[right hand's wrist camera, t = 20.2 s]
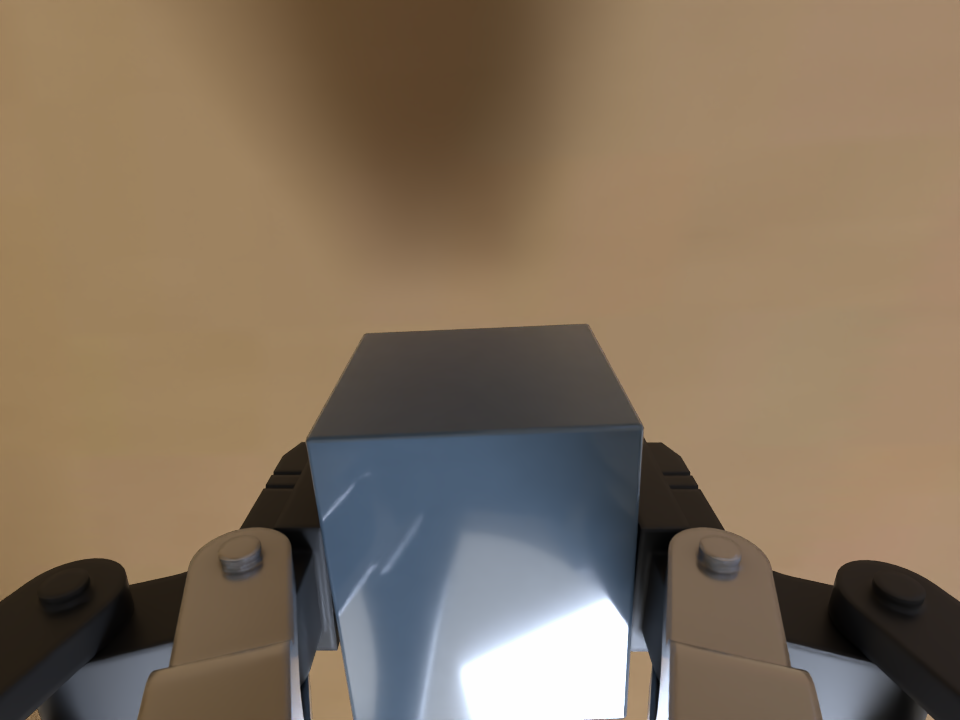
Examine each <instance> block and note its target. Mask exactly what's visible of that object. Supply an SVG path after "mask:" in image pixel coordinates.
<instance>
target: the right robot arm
mask: <svg viewBox="0 0 960 720" xmlns="http://www.w3.org/2000/svg"><path fill="white" fill-rule="evenodd" d="M339 642H340V640H339V634H338V628H337V622H336V616H335V610H334V605H333V599H332V593H331V587H330V581H329V575H328V569H327V563H326V558H325V552H324V546H323V540H322V534H321V528H320V523H319V517H318V511H317V505H316V499H315V494H314V488H313V482H312V476H311V470H310V464H309V459H308V453H307V447H306V442H301V443H300V444H299V445H297V446H296V447H295V448H293V449H292V450H290V451H289V452H288V453H286V454H285V455H284V456H283V457H282V458H281V460H280V462H279V464H278V465H277V467H276V469H275V470H274V474H273V475H271V477H270V479H269V480H268V482H267V484H266V488H265V489H263V491H262V492H261V494H260V496H259V497H258V499H257V501H256V502H255V504H254V506H253V508H252V509H251V511H250V513H249V514H248V516H247V518H246V519H245V521H244V523H243V524H242V526H241V528H240V530H235V531H232V532H229V533H226V534H224V535H221V536H219V537H217V538H215V539H213V540H212V541H210V542H209V543H207V544H206V545H204V546H203V547H202V548H201V549H200V550H199V551H198V552H197V553H196V554H195V555H194V557H193V558H192V560H191V562H190V565H189V568H188V571H187V572H184V573H181V574H177V575H173V576H169V577H165V578H160V579H155V580H151V581H146V582H142V583H137V584H132V585H129V583H128V579H127V576H126V572H125V569H124V568H123V567H122V566H121V565H120V564H119V563H117V562H115V561H112V560H109V559H97V558H94V559H84V560H79V561H74V562H70V563H67V564H64V565H61V566H58V567H55V568H53V569H51V570H49V571H46V572H44V573H42V574H41V575H39V576H37V577H35V578H34V579H32V580H31V581H29V582H27V583H26V584H25V585H23V586H22V587H20V588H19V589H18V590H16V591H15V592H13V593H12V594H11V595H9V596H8V597H6V598H5V599H3V600H2V601H1V602H0V720H25V719H26V718H28V717H29V716H30V715H31V714H32V713H33V712H34V711H35V710H36V709H37V710H38V712H39V715H40V718H41V720H313V718H312V700H311V685H310V678H309V671H310V669H311V665H312V662H313V659H314V656H315V652H316V650H337V649H338V645H339ZM630 651H648V652H649V655H650V659H651V662H652V671H651V678H650V685H649V700H648V718H647V720H925V719H926V716H927V714H929V715H930V716H931V717H932V718H934V719H935V720H960V602H959V601H958V600H957V599H955V598H954V597H952V596H951V595H949V594H948V593H947V592H945V591H944V590H942V589H941V588H940V587H938V586H937V585H935V584H934V583H932V582H931V581H929V580H928V579H926V578H924V577H922V576H920V575H919V574H917V573H914V572H912V571H910V570H908V569H905V568H902V567H899V566H896V565H893V564H889V563H885V562H880V561H871V560H858V561H852V562H849V563H846V564H845V565H843V566H842V567H841V568H840V569H839V570H838V572H837V575H836V578H835V582H834V586H833V585H828V584H824V583H819V582H815V581H810V580H805V579H801V578H796V577H792V576H788V575H784V574H781V573H778V572H775V571H772V568H771V565H770V562H769V560H768V558H767V557H766V555H765V554H764V553H763V552H762V551H761V550H760V549H759V548H758V547H757V546H756V545H754V544H753V543H751V542H750V541H748V540H747V539H745V538H743V537H741V536H739V535H736V534H734V533H731V532H728V531H725V530H724V528H723V526H722V525H721V523H720V521H719V520H718V518H717V516H716V515H715V513H714V511H713V510H712V508H711V506H710V505H709V503H708V501H707V500H706V498H705V496H704V495H703V493H702V491H701V490H700V489H698V485H697V483H696V481H695V480H694V478H693V476H690V471H689V470H688V468H687V466H686V465H685V463H684V461H683V460H682V458H681V456H679V455H678V454H677V453H675V452H674V451H672V450H671V449H670V448H668V447H667V446H665V445H664V444H663V443H647V442H646V440H645V439H644V437H643V452H642V469H641V485H640V502H639V519H638V536H637V552H636V569H635V584H634V599H633V615H632V632H631V649H630Z"/></svg>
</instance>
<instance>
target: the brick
mask: <svg viewBox="0 0 960 720" xmlns="http://www.w3.org/2000/svg"><path fill="white" fill-rule="evenodd" d="M643 435H644V427H643V424H642V422H641V421H640V419H639V417H638V415H637V413H636V411H635V410H634V408H633V406H632V404H631V402H630V400H629V398H628V397H627V395H626V393H625V391H624V389H623V387H622V385H621V384H620V382H619V380H618V378H617V376H616V374H615V372H614V371H613V369H612V367H611V365H610V363H609V361H608V359H607V358H606V356H605V354H604V352H603V350H602V348H601V347H600V345H599V343H598V341H597V339H596V337H595V335H594V334H593V332H592V330H591V328H590V326H589V325H588V324H572V325H549V326H526V327H503V328H480V329H457V330H434V331H411V332H388V333H366V334H364V335H363V337H362V339H361V340H360V342H359V344H358V346H357V348H356V349H355V351H354V353H353V355H352V357H351V358H350V360H349V362H348V364H347V366H346V367H345V369H344V371H343V373H342V375H341V377H340V378H339V380H338V382H337V384H336V386H335V387H334V389H333V391H332V393H331V395H330V396H329V398H328V400H327V402H326V404H325V405H324V407H323V409H322V411H321V413H320V414H319V416H318V418H317V420H316V422H315V424H314V425H313V427H312V429H311V431H310V433H309V434H308V436H307V438H306V447H307V453H308V459H309V464H310V470H311V476H312V482H313V488H314V494H315V499H316V505H317V511H318V517H319V523H320V528H321V534H322V540H323V546H324V552H325V558H326V563H327V569H328V575H329V581H330V587H331V593H332V599H333V605H334V610H335V616H336V622H337V628H338V634H339V640H340V646H341V651H342V657H343V663H344V669H345V675H346V681H347V686H348V692H349V698H350V704H351V710H352V716H353V720H604V719H623V718H625V717H626V715H627V703H628V687H629V670H630V653H631V651H630V649H631V632H632V615H633V599H634V584H635V569H636V552H637V536H638V519H639V502H640V485H641V469H642V452H643Z"/></svg>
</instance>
